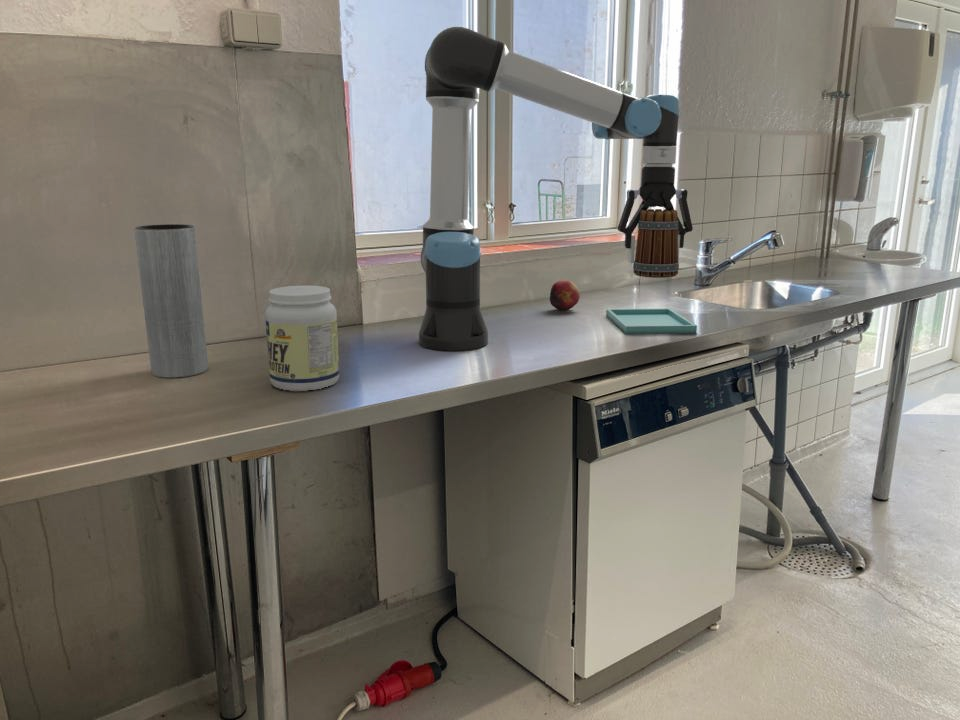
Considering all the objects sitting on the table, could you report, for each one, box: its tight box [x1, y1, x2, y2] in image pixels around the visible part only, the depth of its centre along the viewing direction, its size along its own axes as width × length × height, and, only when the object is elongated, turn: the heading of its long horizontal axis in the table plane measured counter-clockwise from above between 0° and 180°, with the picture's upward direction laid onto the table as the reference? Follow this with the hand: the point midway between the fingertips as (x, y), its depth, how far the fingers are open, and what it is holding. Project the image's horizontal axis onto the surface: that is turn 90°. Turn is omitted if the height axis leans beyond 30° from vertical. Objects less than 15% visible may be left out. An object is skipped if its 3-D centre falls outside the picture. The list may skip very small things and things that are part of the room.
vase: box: [134, 223, 209, 379], centre depth 136 cm, size 10×10×27 cm
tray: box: [605, 308, 698, 335], centre depth 180 cm, size 17×21×2 cm
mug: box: [632, 208, 680, 279], centre depth 175 cm, size 16×11×15 cm
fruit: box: [549, 280, 581, 312], centre depth 196 cm, size 8×8×8 cm
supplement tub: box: [264, 284, 340, 392], centre depth 130 cm, size 12×12×17 cm
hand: (653, 262), depth 176 cm, fingers closed on mug, 10 cm apart
